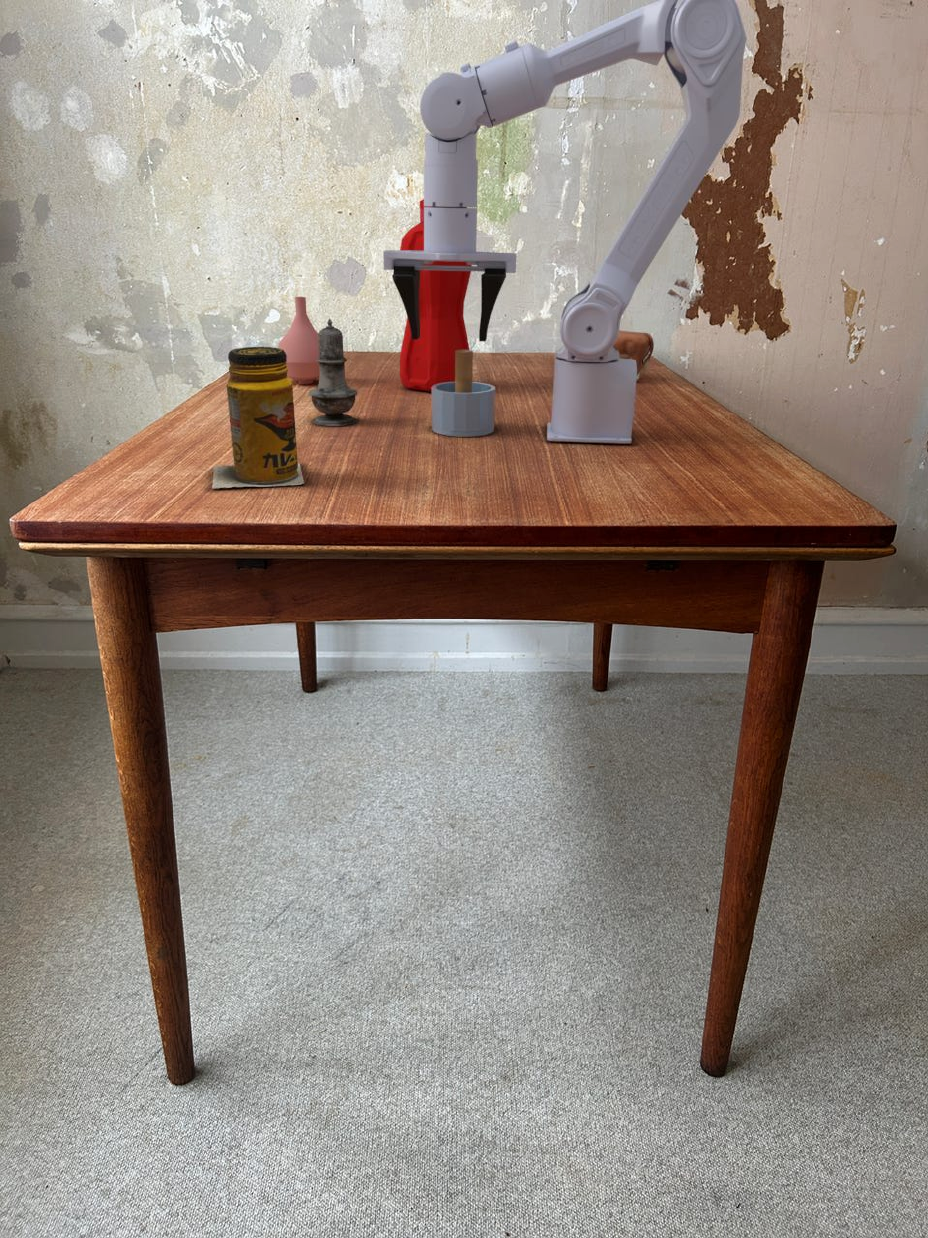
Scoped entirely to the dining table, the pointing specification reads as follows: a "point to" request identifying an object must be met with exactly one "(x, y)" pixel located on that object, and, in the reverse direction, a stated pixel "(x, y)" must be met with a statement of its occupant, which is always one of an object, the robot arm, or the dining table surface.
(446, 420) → the beaker
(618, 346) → the bull figurine
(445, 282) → the water bottle
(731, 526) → the dining table surface
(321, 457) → the dining table surface
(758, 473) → the dining table surface
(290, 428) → the condiment
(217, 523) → the dining table surface
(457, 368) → the brush
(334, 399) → the salt shaker
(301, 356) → the pink vase
